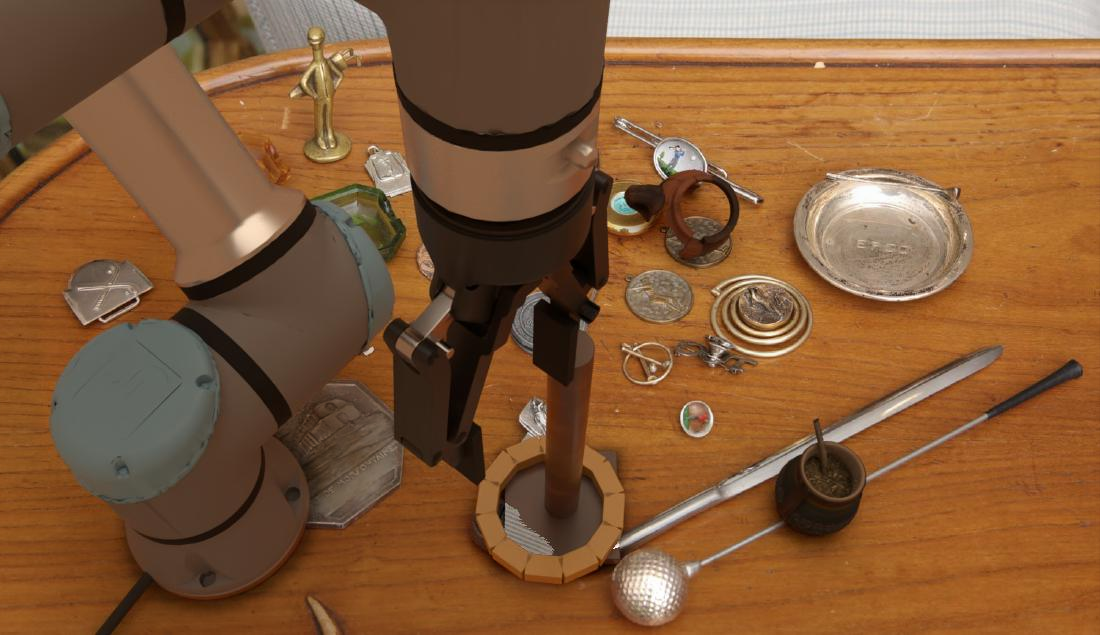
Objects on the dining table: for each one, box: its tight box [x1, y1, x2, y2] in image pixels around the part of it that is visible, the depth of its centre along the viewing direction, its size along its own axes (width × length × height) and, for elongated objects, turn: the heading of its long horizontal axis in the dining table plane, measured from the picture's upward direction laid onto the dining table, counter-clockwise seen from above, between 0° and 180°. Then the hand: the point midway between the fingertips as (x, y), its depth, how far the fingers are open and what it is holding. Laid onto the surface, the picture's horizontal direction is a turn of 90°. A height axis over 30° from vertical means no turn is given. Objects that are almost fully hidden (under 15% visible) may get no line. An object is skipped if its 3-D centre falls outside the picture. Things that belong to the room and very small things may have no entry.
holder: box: [503, 328, 621, 565], centre depth 70 cm, size 10×10×28 cm
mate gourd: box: [774, 417, 868, 538], centre depth 78 cm, size 7×8×10 cm
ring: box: [474, 434, 626, 585], centre depth 79 cm, size 13×13×2 cm
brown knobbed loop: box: [623, 169, 741, 260], centre depth 97 cm, size 12×10×8 cm
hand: (510, 417), depth 56 cm, fingers open, 8 cm apart
